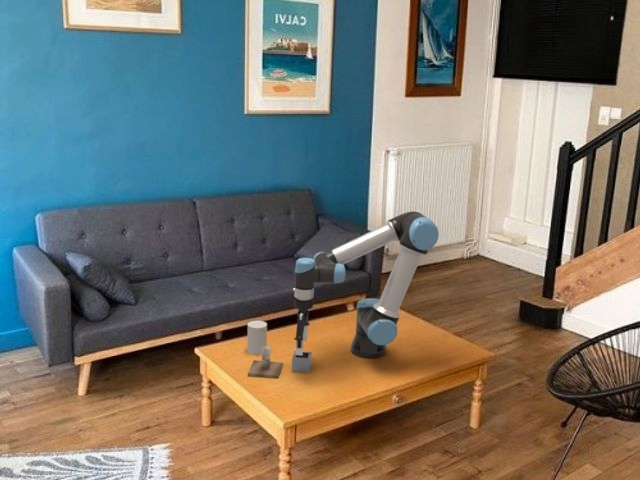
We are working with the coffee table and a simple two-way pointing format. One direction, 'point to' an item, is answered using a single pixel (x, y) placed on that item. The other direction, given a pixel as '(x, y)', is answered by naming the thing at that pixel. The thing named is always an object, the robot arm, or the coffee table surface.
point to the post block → (265, 366)
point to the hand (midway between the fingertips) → (301, 347)
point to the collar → (302, 362)
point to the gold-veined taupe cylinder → (256, 337)
